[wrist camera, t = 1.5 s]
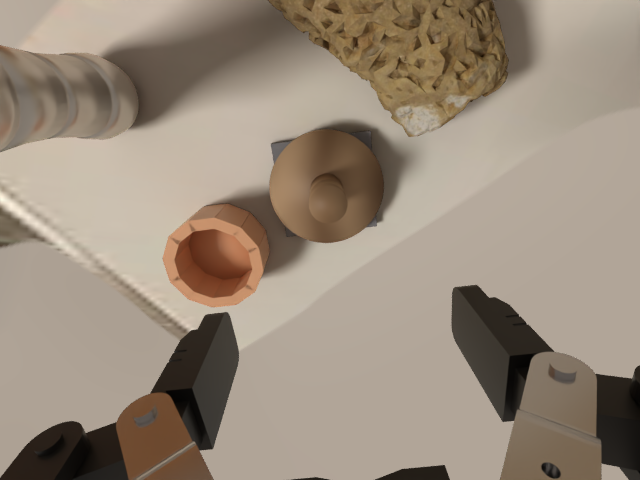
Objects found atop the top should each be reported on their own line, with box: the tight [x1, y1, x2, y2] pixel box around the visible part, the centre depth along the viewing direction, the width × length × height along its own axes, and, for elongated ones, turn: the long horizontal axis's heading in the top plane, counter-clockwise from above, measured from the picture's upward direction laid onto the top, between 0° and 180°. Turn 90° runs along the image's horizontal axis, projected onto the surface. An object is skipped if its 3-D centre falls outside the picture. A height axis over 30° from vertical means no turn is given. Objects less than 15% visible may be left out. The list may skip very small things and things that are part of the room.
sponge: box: [268, 0, 509, 137], centre depth 25 cm, size 13×8×20 cm
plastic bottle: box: [0, 45, 139, 152], centre depth 21 cm, size 6×7×20 cm
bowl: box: [163, 204, 270, 307], centre depth 33 cm, size 9×9×4 cm
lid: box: [269, 129, 384, 243], centre depth 29 cm, size 10×10×6 cm
